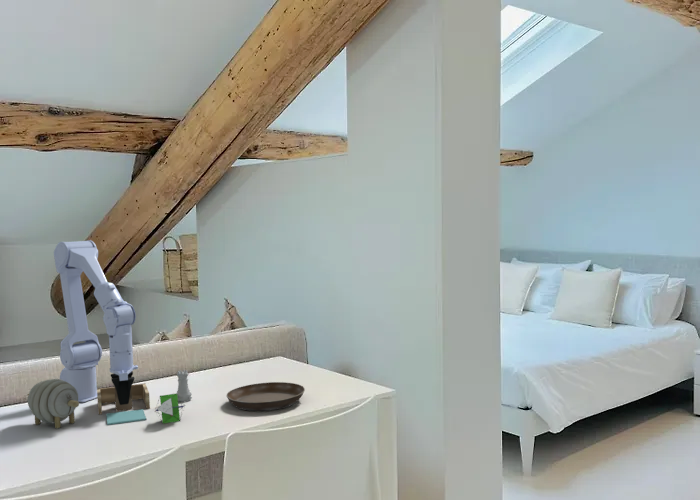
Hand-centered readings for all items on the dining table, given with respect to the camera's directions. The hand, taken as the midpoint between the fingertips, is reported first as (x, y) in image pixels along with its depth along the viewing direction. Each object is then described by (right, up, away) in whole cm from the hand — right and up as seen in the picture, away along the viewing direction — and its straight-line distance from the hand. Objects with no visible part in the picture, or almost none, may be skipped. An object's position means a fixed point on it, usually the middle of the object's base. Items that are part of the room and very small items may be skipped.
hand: (123, 402), depth 178 cm
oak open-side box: (-1, -2, +2) cm, 3 cm away
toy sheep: (-13, -3, -13) cm, 18 cm away
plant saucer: (+37, -1, +2) cm, 38 cm away
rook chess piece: (+14, -1, +6) cm, 16 cm away
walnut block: (0, -2, 0) cm, 2 cm away
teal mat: (+4, -2, -9) cm, 10 cm away
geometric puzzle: (+16, -2, -13) cm, 20 cm away
